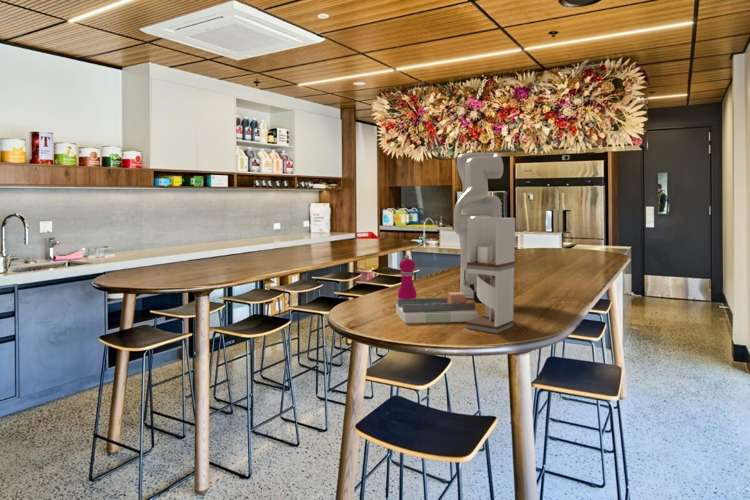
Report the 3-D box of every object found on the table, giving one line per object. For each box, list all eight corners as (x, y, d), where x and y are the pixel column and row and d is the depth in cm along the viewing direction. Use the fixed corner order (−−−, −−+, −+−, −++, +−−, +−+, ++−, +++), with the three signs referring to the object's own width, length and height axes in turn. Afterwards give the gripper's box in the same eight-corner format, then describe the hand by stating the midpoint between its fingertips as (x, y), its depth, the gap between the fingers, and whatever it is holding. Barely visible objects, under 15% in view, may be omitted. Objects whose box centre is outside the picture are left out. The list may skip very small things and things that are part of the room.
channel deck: (462, 310, 197) (462, 302, 197) (477, 321, 179) (478, 312, 179) (395, 312, 194) (396, 304, 194) (404, 323, 176) (405, 314, 176)
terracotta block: (461, 305, 190) (461, 292, 190) (465, 308, 185) (465, 294, 185) (447, 306, 189) (447, 292, 189) (451, 309, 184) (451, 294, 184)
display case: (483, 321, 178) (485, 217, 175) (513, 326, 171) (515, 218, 168) (466, 328, 169) (467, 218, 166) (496, 333, 163) (499, 219, 159)
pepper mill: (409, 308, 199) (409, 256, 198) (393, 306, 204) (394, 254, 202) (420, 305, 205) (420, 254, 203) (404, 303, 210) (404, 253, 208)
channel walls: (465, 303, 193) (465, 297, 193) (474, 310, 182) (475, 303, 182) (397, 305, 190) (397, 298, 190) (403, 312, 179) (403, 305, 179)
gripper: (495, 249, 191) (494, 300, 193) (455, 250, 189) (454, 301, 191) (503, 251, 184) (502, 304, 185) (461, 252, 182) (460, 305, 183)
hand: (478, 302), depth 188 cm, fingers closed
